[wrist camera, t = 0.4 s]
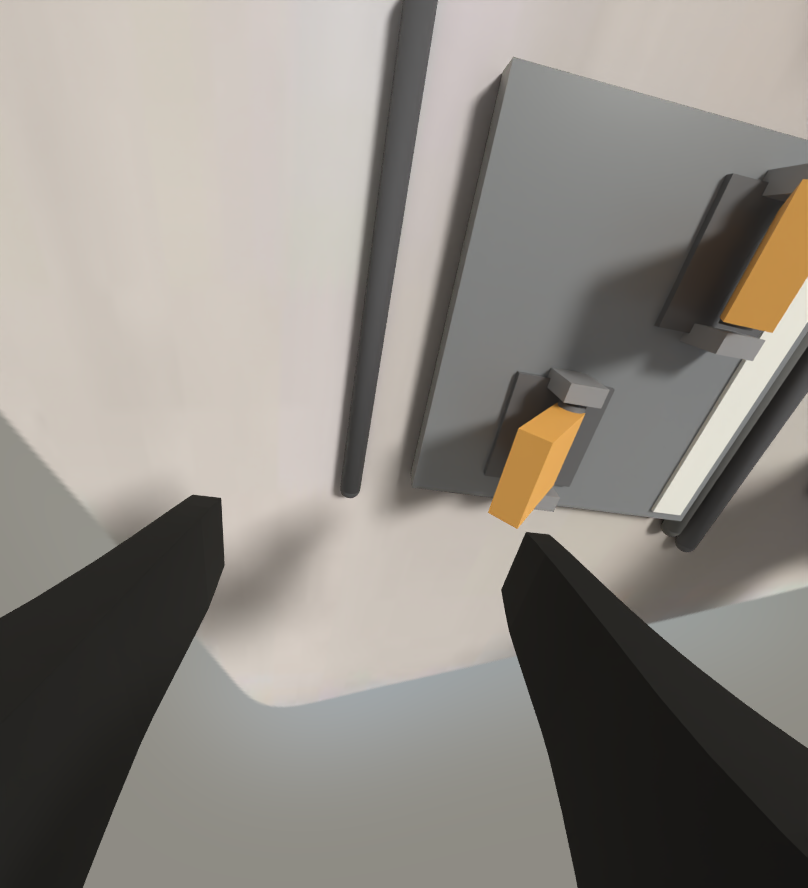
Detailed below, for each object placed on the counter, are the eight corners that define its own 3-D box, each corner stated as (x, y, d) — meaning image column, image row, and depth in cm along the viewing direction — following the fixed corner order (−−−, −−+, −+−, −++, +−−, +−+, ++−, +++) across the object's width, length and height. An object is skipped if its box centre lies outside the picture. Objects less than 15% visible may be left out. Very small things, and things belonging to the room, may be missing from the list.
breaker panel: (876, 175, 15) (994, 160, 12) (666, 507, 22) (708, 547, 19) (502, 71, 13) (536, 25, 10) (410, 474, 20) (415, 513, 17)
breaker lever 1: (590, 405, 16) (555, 437, 12) (555, 484, 18) (515, 533, 14) (562, 395, 17) (520, 422, 13) (531, 473, 18) (486, 516, 15)
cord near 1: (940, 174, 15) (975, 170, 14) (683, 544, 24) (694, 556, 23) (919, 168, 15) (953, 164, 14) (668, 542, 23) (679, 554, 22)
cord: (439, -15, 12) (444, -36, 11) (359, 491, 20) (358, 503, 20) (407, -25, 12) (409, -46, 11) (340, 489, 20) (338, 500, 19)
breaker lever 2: (824, 211, 13) (872, 174, 9) (752, 330, 15) (768, 339, 11) (780, 206, 13) (808, 169, 10) (716, 322, 15) (719, 328, 12)
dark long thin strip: (888, 196, 15) (919, 193, 14) (669, 529, 23) (680, 541, 22) (867, 190, 15) (897, 187, 14) (654, 527, 23) (665, 539, 22)
